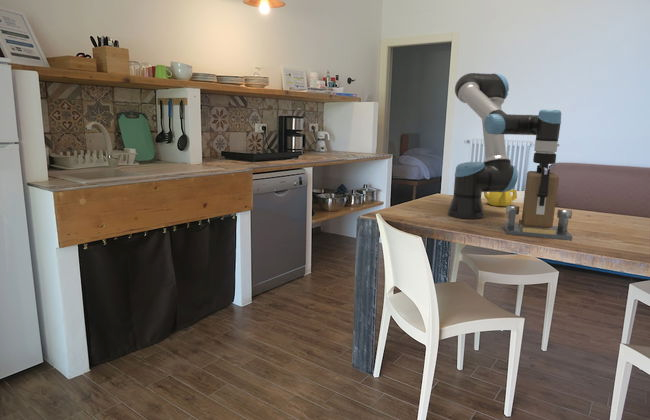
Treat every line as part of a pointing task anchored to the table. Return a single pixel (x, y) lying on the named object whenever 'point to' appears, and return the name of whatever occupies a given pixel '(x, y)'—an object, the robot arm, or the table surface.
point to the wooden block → (531, 199)
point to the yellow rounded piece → (500, 198)
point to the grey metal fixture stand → (553, 232)
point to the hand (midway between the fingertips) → (538, 211)
